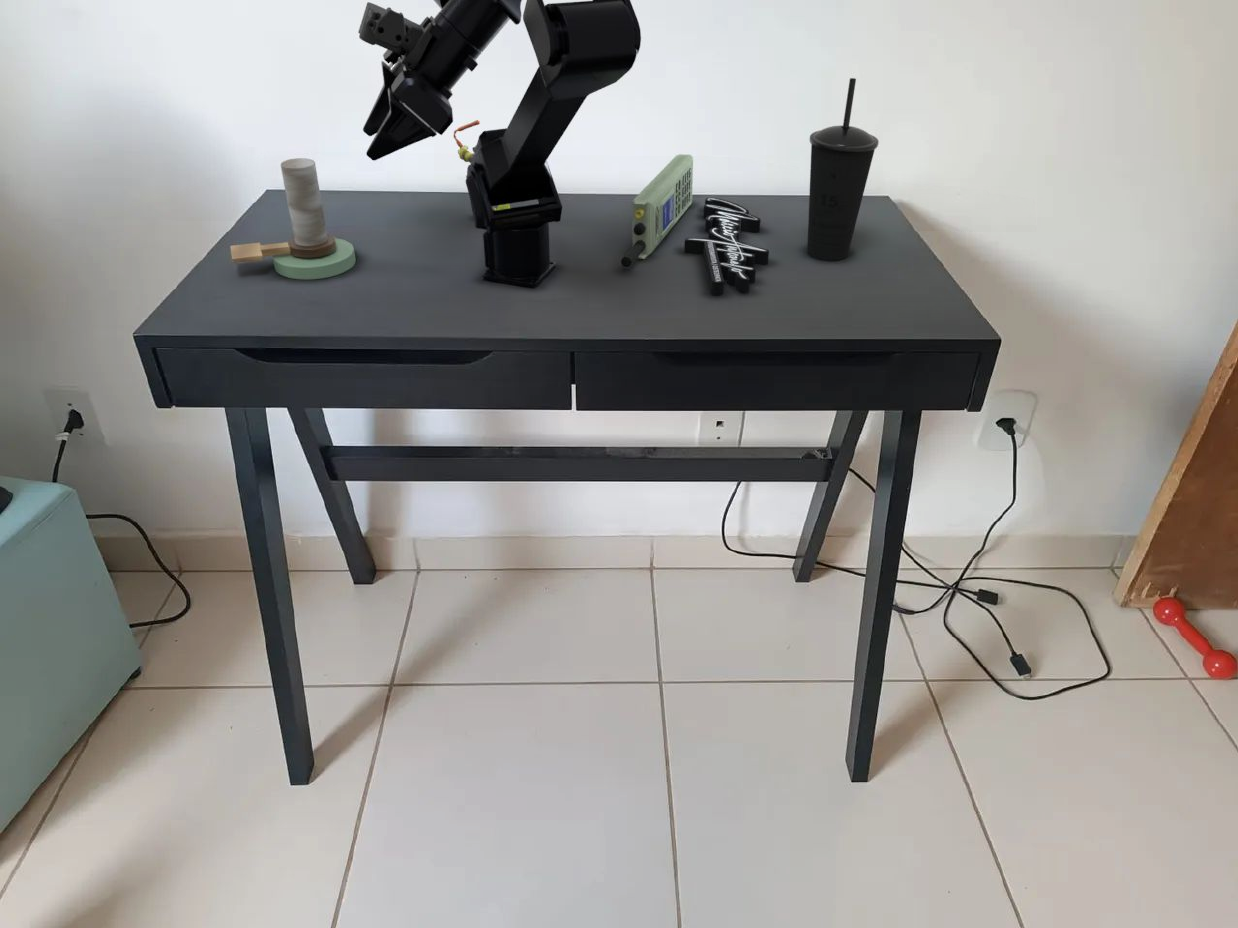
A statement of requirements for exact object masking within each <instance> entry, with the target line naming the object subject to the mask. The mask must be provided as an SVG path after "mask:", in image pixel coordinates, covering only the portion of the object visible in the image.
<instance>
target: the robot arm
mask: <svg viewBox="0 0 1238 928" xmlns="http://www.w3.org/2000/svg"><path fill="white" fill-rule="evenodd" d="M433 1H434V3H435V4H436V5H437V6H438V7H439V8H440V11H438V13H437V14H436V15H435V17H433V16H432V15H431V16H426V17H424V19H423V20H422V22H421V23H420V24H419V23H417V22H414V21H412V20H410V19H408V18H407V17H405V16H404V14H403V13H402V12H401V11H400V12H397V11H395V10H393V9H392V8H391V7H389V6H388V7H387V8H384V7H382V6H380V5H378V4H375V3H373V2H370V1H367V2H366V6H365V9H364V11H363V15H362V19H361V23H360V24H359V28H358V31H357V33H358V34H359V39H360V40H361V41H363V42H364V43H367V44H369V45H371V46H375V45H376V46H379V47H381V48H384V49H386V51H384V53H383V54H382V57H383V60H384V61H383V60H381V62H380V65H381V71H382V78H383V85H382V87H381V89H380V92H379V93H378V95H377V98H376V100H375V101H374V104H373V106H372V108H371V111H370V113H369V115H368V117H367V119H366V121H365V124H364V125H363V128H362V131H363V133H365V134H366V135H367V136H368V137H372V136H374V137H373V139H372V141H371V143H370V145H369V147H368V148H367V150H366V152H365V154H366V156H367V157H368V159H370V160H371V161H374V162H375V161H377V160H379V159H382V158H385V157H386V156H388V155H391V154H393V153H395V152H397V151H399V150H402V149H403V148H407V147H408V146H411V145H413V144H416V143H418V142H421V141H423V140H426V139H428V138H434V137H436V136H437V135H438V134H439V135H440V136H443V134H444V133H445V132H446V131H447V130H448V129H449V127H450V126H451V125H452V123H453V122H454V115H453V107H452V105H451V103H450V101H449V100H450V98H451V97H452V96H453V95H454V94H453V91H452V89H453V88H454V87H455V85H456V84H457V83H458V82H459V80H460V79H461V78H462V77H463V76H464V75H465V73H466V72H467V71H468V70H469V71H470V72H471V73H473V72H474V70H475V69H476V68H477V66H478V65H479V64H478V61H477V59H478V58H479V57H480V55H482V53H483V52H484V51H485V50H486V48H488V46H489V45H490V44H491V43H492V41H493V40H494V39H495V37H496V36H498V34H499V33H500V32H501V31H502V29H504V27H505V26H506V25H507V23H508V22H509V21H511V22H512V23H513V24H514V25H516V26H517V25H519V24H520V23H521V21H523V23H524V27H525V29H526V32H527V35H528V37H529V40H530V42H531V45H532V48H533V51H534V54H535V57H536V60H537V63H538V67H537V68H536V71H535V73H534V75H533V77H532V79H531V81H530V83H529V85H528V87H527V89H526V90H525V92H524V95H523V96H522V98H521V100H520V102H519V104H518V106H517V108H516V110H515V112H514V114H513V115H512V117H511V120H510V122H509V123H508V125H507V128H506V127H505V128H498V129H489V130H483V131H482V132H481V133H480V134H479V135H478V140H477V141H476V142H477V143H476V145H475V146H474V147H472V152H473V153H475V154H474V155H473V157H472V159H471V163H470V164H469V165H468V166H467V170H466V175H465V185H466V189H467V192H468V196H469V200H470V201H469V202H470V206H471V212H472V215H473V219H474V220H473V221H474V227H475V228H476V229H479V230H485V232H483V233H482V242H483V256H484V266H485V268H486V270H485V271H484V272H483V273H482V279H483V280H487V281H493V282H499V283H505V284H511V285H519V286H524V287H530V288H534V287H537V286H538V285H539V284H540V283H541V282H542V281H544V279H545V278H546V277H547V276H548V275H549V274H550V273H551V272H552V271H553V270H554V269H555V268H556V266H557V264H556V261H551V257H550V256H551V255H550V254H551V253H550V223H553V222H555V223H559V222H561V218H562V213H563V205H562V201H561V198H560V195H559V193H558V191H557V187H556V183H555V180H554V178H553V175H552V172H551V169H550V166H549V163H548V159H549V157H550V155H551V154H552V153H553V151H554V149H555V148H556V146H557V145H558V143H559V141H560V139H561V138H562V137H563V135H564V134H565V132H566V130H567V129H568V128H569V126H570V124H571V122H572V121H573V119H574V118H575V116H576V115H577V113H578V111H579V110H580V108H581V107H582V105H583V103H584V102H585V100H586V99H587V98H588V96H590V95H592V94H593V93H596V92H598V91H600V90H603V89H604V88H606V87H607V88H608V87H609V86H610V85H613V84H615V83H617V82H618V81H619V80H620V79H622V78H623V77H624V76H625V75H626V74H628V72H629V71H631V69H632V68H633V66H634V64H635V63H636V60H637V57H638V55H639V52H640V48H641V44H642V43H641V42H642V33H641V27H640V23H639V20H638V17H637V15H636V11H635V9H634V7H633V5H632V2H631V1H632V0H583V1H569V2H554V3H553V2H551V3H547V4H545V2H544V0H526V1H525V6H524V10H523V14H522V10H521V9H522V8H521V6H522V1H523V0H433ZM388 64H389V65H388ZM531 201H537V202H538V203H535V204H527V205H522V206H515V207H510V208H508V209H502V210H496V211H493V209H492V207H498V205H505V204H509V205H510V204H518V203H524V202H531Z"/></svg>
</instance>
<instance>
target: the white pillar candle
mask: <svg viewBox="0 0 1238 928" xmlns="http://www.w3.org/2000/svg"><path fill="white" fill-rule="evenodd" d="M280 169H281V175H282V180H283V186H284V191H285V197H286V202H287V207H288V212H289V218H290V223H291V229H292V233H293V237H290V238H289V240H288V241H285V242H276V243H270V244H269V243H268V244H261V242H252V243H243V244H236V245H235V244H234V245H230V255H231V262H232V263H233V264H237V263H244V262H252V261H262V260H264V257H269V256H272V255H278V254H286V253H291V254H292V255H294V256H297V257H305V258H311V257H320V256H324V255H327V254H330V253H332V252H333V251H334V250H335V249H336V241H335V238H336V237H335V236H333V234H330V233H328V232H327V231H328V230H327V226H326V220H325V213H324V208H323V202H322V195H321V190H320V183H319V178H318V177H319V176H318V171H317V165H316V161H315V160H314V159H311V158H307V157H296V158H289V159H286V160H284V161H282V162H281V163H280Z"/></svg>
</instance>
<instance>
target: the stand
mask: <svg viewBox="0 0 1238 928" xmlns="http://www.w3.org/2000/svg"><path fill="white" fill-rule="evenodd" d="M334 238H335V241H336V249H335V250H334V251H333V252H332V253H330V254H327V255H324V256H320V257H311V258H305V257H297V256H294V255H292V254H291V253H286V254H278V255H271V256H272V261H273V266H274V270H275V272H276V273H277V274H278V275H280V276H283V277H285V278H289V279H292V280H293V279H294V280H302V281H303V280H304V281H305V280H307V281H309V280H321V279H326V278H327V279H328V278H331V277H335V276H338V275H341V274H344V273H346V272H347V271H349V270H351V269H352V268H353V267H354V266H355V264H356V254H355V247H354V245H353V244H352V243H351V242H349V241H348V240H345V239H341V238H338V237H337V238H336V237H334Z"/></svg>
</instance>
